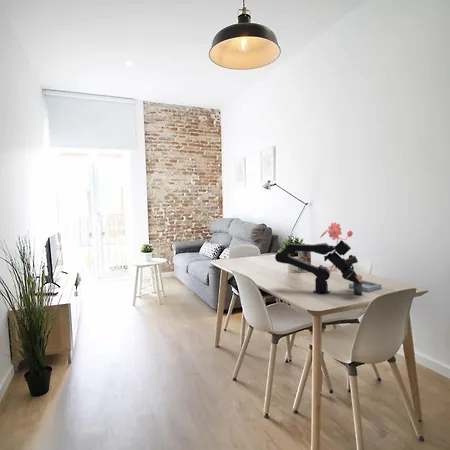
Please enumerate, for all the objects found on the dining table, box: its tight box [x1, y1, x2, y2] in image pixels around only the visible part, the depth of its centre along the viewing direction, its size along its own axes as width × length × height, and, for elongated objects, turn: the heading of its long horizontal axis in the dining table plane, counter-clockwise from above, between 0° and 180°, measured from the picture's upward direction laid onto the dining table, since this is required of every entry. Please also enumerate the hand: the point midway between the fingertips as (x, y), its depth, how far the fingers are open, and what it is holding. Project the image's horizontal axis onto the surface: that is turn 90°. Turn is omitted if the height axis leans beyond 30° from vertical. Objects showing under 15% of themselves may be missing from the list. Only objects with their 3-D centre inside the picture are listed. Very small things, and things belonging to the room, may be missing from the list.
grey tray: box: [348, 279, 382, 293], centre depth 192 cm, size 12×12×2 cm
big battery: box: [352, 273, 363, 296], centre depth 181 cm, size 4×4×11 cm
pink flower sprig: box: [319, 221, 354, 272], centre depth 244 cm, size 15×26×35 cm, turn 111°
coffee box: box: [297, 251, 312, 274], centre depth 241 cm, size 9×6×16 cm
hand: (359, 281), depth 180 cm, fingers open, 9 cm apart
